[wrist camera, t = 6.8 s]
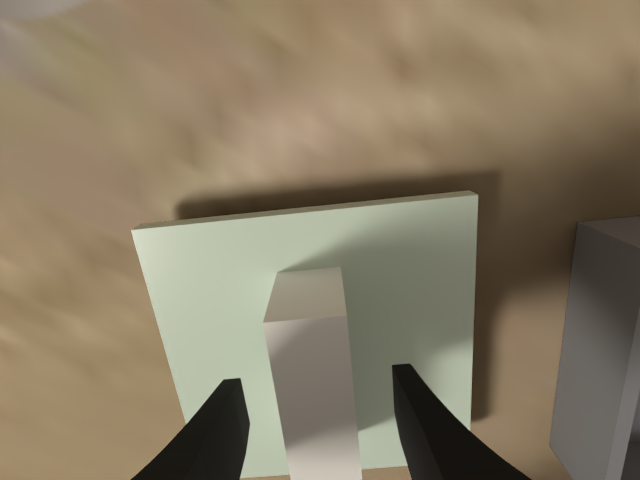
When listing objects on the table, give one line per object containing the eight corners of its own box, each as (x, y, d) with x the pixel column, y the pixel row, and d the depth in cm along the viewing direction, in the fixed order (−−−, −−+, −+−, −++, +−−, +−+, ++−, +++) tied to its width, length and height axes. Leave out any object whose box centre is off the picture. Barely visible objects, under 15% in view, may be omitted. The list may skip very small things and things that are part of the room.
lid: (455, 428, 18) (505, 546, 13) (213, 448, 19) (173, 568, 14) (459, 185, 14) (533, 222, 9) (152, 216, 15) (67, 268, 10)
